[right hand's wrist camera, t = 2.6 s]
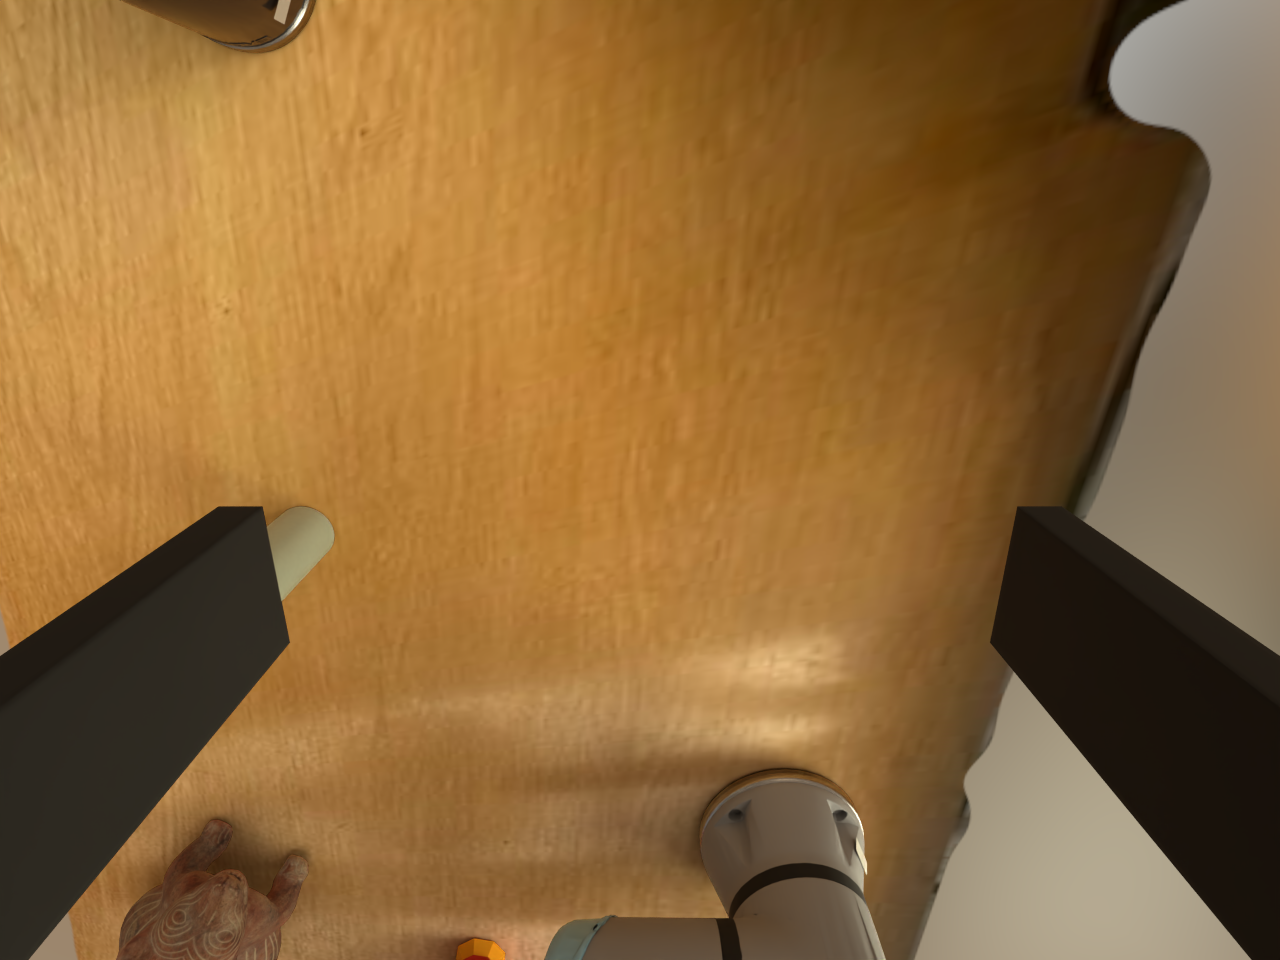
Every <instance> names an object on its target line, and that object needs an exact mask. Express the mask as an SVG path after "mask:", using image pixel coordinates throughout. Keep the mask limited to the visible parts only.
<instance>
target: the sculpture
mask: <svg viewBox="0 0 1280 960" xmlns="http://www.w3.org/2000/svg"><path fill="white" fill-rule="evenodd" d="M232 832H233V831H232V827H231V826H230V825H229V824H228V823H226V822H223V821H221V820H211V821H210V822H209V823H208V824H207V825H206V826H205V828H204V830H203V832H202V835H201V836H200V837H199V838H197V839H196V840H195V841H194V842H192V843H191V844H190V845H189V846H188V847H187V848H185V849H184V850H183V851H182V852H181V853H180V854H179V855H178V856H177V857H176V859H175V860H174V861H173V862H172V864H171V865H170V867H169V868H168V870H167V872H166V874H165V878H164V882H163V884H161V885H159V886H157V887H155V888H153V889H151V890H150V891H148V892H147V893H146V894H144V895H143V896H142V897H141V898H140V899H139V900H138V901H137V902H136V903H135V904H134V905H133V906H132V907H131V909H130V910H129V912H128V913H127V915H126V917H125V919H124V922H123V925H122V927H121V932H120V940H119V953H118V956H117V959H116V960H277V958H278V954H279V951H280V946H281V930H280V927H281V926H282V925H283V924H284V923H285V922H286V921H287V920H288V919H289V918H290V916H291V914H292V912H293V910H294V908H295V906H296V903H297V899H298V896H299V892H300V888H301V885H302V882H303V881H304V879H305V878H306V876H307V875H308V872H309V867H308V863H307V861H306V860H305V859H304V858H302V857H301V856H297V855H290V856H289V857H288V858H287V859H286V861H285V863H284V864H283V866H282V867H281V869H280V870H279V871H278V873H277V875H276V877H275V879H274V881H273V886H272V889H271V891H270V892H269V894H268V895H267V896H265V895H263V894H261V893H259V892H258V891H256V890H254V889H252V888H250V887H248V883H247V880H246V878H245V875H244V874H243V873H241V872H240V871H239V870H234V869H225V870H223V871H220V872H219V873H217V874H215V875H213V874H210V873H208V872H205V871H206V870H207V868H208V867H209V865H210V864H211V863H212V862H213V861H214V860H215V859H217V858H218V857H219V856H220V855H221V854H222V853H223V851H224V850H225V849H226V848H227V846H228V843H229V841H230V839H231V837H232Z"/></svg>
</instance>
